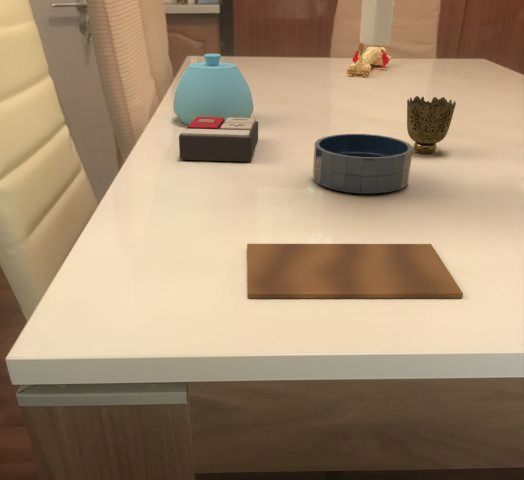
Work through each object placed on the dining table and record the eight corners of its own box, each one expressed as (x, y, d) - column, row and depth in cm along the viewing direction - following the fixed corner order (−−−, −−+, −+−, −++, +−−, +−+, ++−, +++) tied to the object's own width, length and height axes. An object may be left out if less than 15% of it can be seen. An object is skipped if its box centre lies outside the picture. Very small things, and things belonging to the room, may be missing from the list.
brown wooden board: (430, 248, 70) (431, 243, 70) (462, 298, 60) (463, 293, 59) (247, 247, 69) (247, 243, 69) (247, 298, 59) (247, 293, 59)
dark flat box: (258, 116, 108) (251, 132, 95) (258, 142, 110) (251, 161, 97) (194, 114, 109) (177, 130, 96) (195, 140, 111) (179, 159, 98)
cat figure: (375, 83, 167) (394, 62, 186) (378, 46, 162) (397, 28, 180) (338, 80, 170) (360, 60, 189) (340, 44, 165) (363, 27, 183)
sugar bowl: (255, 129, 116) (256, 59, 110) (172, 129, 115) (168, 59, 109) (251, 112, 129) (251, 48, 123) (176, 112, 128) (172, 48, 122)
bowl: (397, 168, 96) (401, 133, 93) (417, 196, 85) (422, 158, 82) (309, 167, 96) (310, 133, 93) (317, 196, 84) (320, 158, 82)
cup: (446, 147, 107) (454, 96, 103) (449, 159, 101) (458, 105, 96) (400, 145, 108) (407, 94, 104) (401, 156, 102) (407, 103, 97)
